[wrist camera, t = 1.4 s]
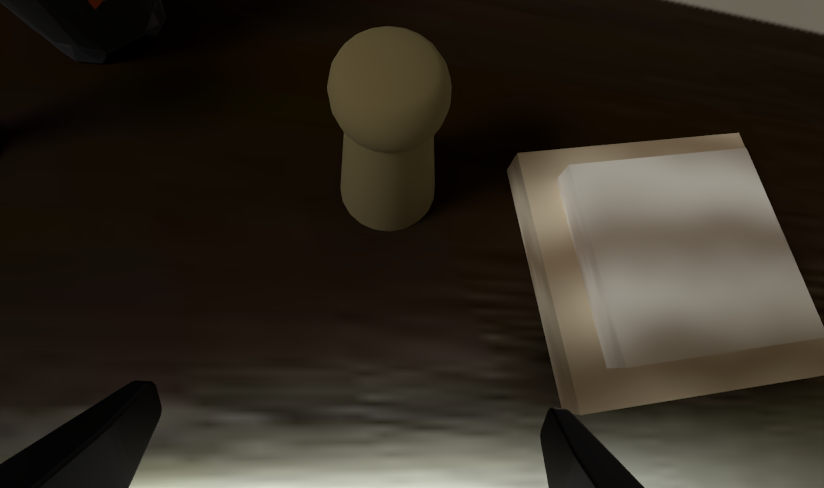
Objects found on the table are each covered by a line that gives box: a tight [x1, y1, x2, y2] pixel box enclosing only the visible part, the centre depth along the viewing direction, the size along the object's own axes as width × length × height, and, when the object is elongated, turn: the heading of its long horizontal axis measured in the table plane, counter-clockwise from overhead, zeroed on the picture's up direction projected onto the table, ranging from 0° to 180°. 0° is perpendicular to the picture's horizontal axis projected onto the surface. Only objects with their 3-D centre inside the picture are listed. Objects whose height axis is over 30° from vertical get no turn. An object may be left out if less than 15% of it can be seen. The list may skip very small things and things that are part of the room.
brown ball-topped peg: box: [327, 26, 452, 231], centre depth 21 cm, size 6×6×11 cm
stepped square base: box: [507, 133, 824, 415], centre depth 24 cm, size 15×15×4 cm
